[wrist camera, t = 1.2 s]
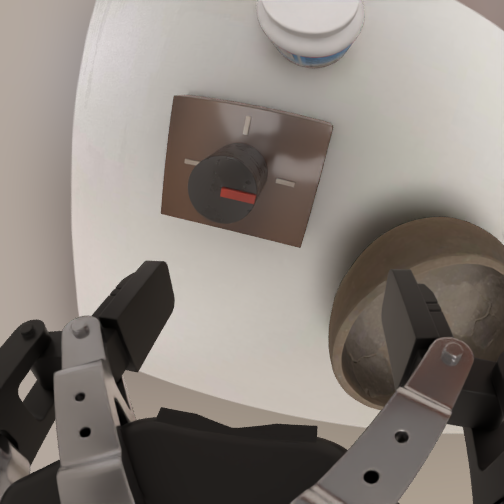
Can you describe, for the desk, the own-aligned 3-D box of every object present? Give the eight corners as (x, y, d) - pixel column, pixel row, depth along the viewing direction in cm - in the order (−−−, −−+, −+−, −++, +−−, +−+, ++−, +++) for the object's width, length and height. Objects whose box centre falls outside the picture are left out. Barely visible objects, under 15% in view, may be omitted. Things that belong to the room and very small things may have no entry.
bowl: (330, 354, 35) (330, 427, 26) (318, 202, 27) (321, 259, 18) (469, 337, 31) (496, 401, 22) (494, 190, 23) (555, 236, 14)
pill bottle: (354, 9, 19) (382, -43, 9) (342, 76, 22) (366, 62, 12) (278, -5, 19) (256, -65, 9) (266, 60, 22) (234, 37, 12)
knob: (206, 192, 25) (182, 217, 20) (214, 138, 23) (190, 150, 18) (261, 204, 25) (248, 233, 20) (273, 150, 23) (262, 165, 18)
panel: (173, 202, 29) (159, 214, 27) (187, 94, 24) (172, 95, 22) (301, 232, 29) (300, 248, 26) (330, 122, 24) (333, 126, 21)
